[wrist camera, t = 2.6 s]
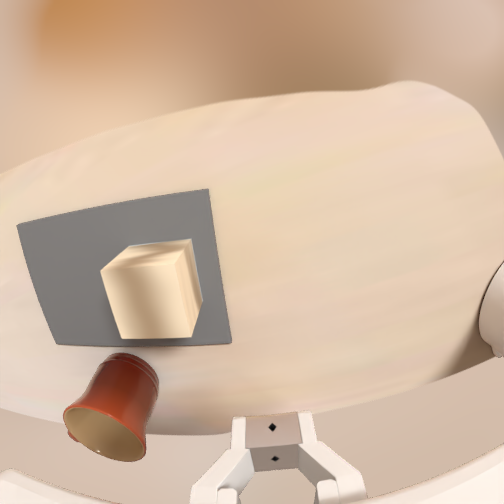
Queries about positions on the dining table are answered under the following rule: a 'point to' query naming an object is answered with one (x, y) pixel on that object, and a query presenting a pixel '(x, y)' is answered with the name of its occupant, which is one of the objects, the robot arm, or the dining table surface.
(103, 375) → the mug
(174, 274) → the letter block
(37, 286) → the mat
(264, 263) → the dining table surface
